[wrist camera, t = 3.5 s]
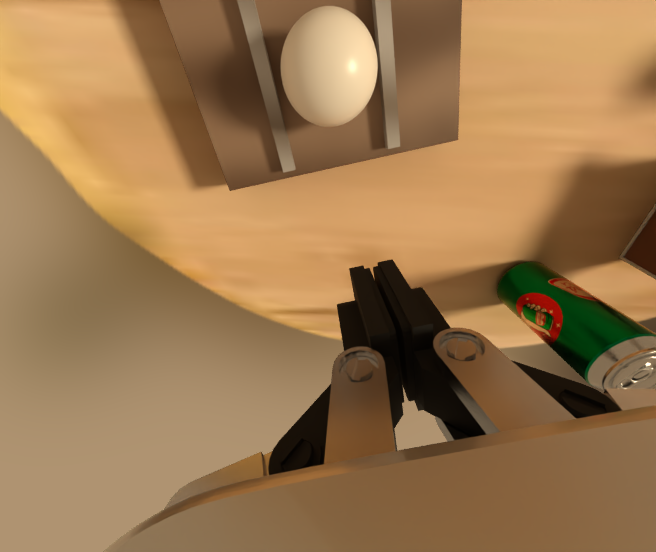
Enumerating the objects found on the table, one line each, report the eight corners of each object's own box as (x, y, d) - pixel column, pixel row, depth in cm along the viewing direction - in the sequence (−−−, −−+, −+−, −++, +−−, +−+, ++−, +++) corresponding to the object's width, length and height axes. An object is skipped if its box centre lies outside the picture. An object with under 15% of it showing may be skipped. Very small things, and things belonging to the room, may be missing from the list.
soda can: (554, 275, 28) (699, 367, 18) (513, 309, 30) (621, 410, 19) (525, 249, 26) (666, 333, 16) (483, 286, 28) (584, 384, 18)
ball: (274, 36, 16) (259, 3, 11) (362, 13, 15) (381, -29, 11) (296, 134, 18) (292, 138, 14) (372, 116, 18) (392, 114, 13)
